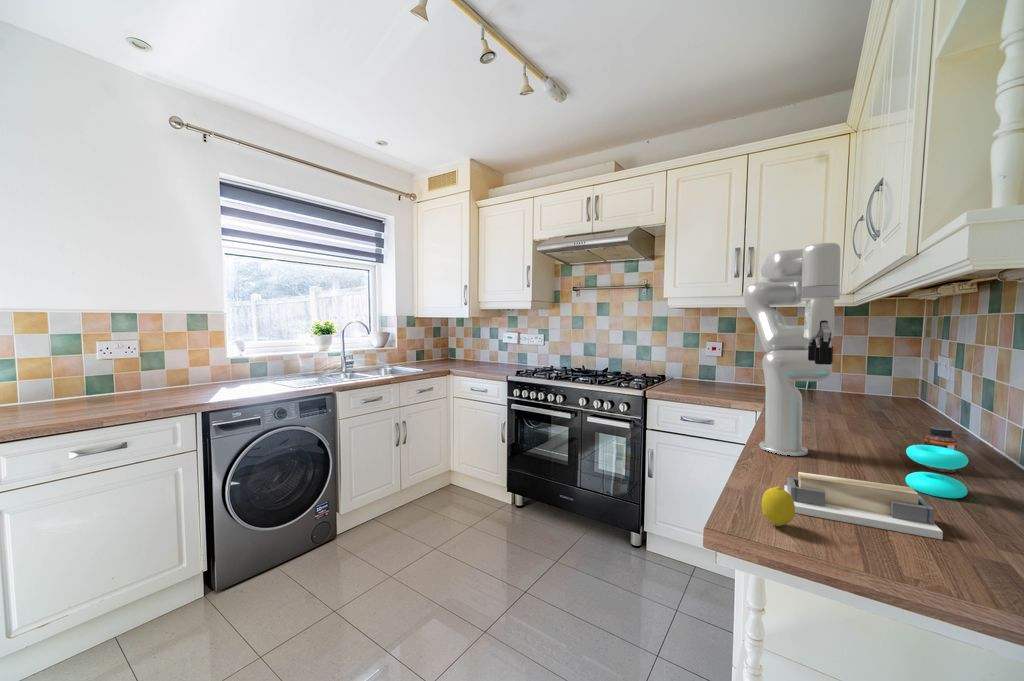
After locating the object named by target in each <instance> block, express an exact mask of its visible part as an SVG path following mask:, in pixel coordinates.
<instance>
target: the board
mask: <svg viewBox="0 0 1024 681" xmlns="http://www.w3.org/2000/svg"><path fill="white" fill-rule="evenodd" d="M783 490H785V491H786V492H788V490H787V484H784V489H783ZM793 502H794V505H795V514H797V515H804V516H808V517H809V516H810V517H815V518H820V519H821V518H822V519H827V520H831V521H838V522H843V523H848V524H853V525H859V526H866V527H869V528H874V529H875V528H876V529H881V530H886V531H893V532H897V533H904V534H909V535H915V536H919V537H920V536H921V537H924V538H925V537H927V538H931V539H936V540H943V539H944V538H943V534H944V532H943V530H942V529H941V528H939V527H938V525H937V524H935V522H934V525H932V524H926V523H920V522H914V521H908V520H902V519H896V518H892V517H891V515H890V514H884V513H878V512H872V511H866V510H860V509H854V508H848V507H842V506H836V505H830V504H825V506H819V505H813V504H807V503H801V502H795V501H793Z"/></svg>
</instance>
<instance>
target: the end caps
mask: <svg viewBox="0 0 1024 681" xmlns="http://www.w3.org/2000/svg"><path fill="white" fill-rule="evenodd" d="M786 477H787V484H786V485H787V490H788V493H789V494H790V495H791V497H792V499H793V501H795V502H801V503H807V504H813V505H819V506H825V491H822V490H816V489H809V488H803V487H798V477H791V476H786ZM891 517H892V518H896V519H902V520H908V521H914V522H920V523H926V524H932V525H934V523H935V508H933V507H932V506H931V505H930V504H929V503H928V502H927V501H926V500H925V499H924V498H923V497H922V496H921V495H918V505H914V504H907V503H901V502H894V501H891Z"/></svg>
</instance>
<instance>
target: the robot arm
mask: <svg viewBox="0 0 1024 681" xmlns="http://www.w3.org/2000/svg"><path fill="white" fill-rule="evenodd" d="M760 273H761V276H762V278H763V279H764V280H766V281H760V282H759V281H758V282H754V283H752V284H750V285H748V286H746V288H745V290H744V294H743V299H744V305H745V309H746V311H747V314H748V315H749V317H750V318H751V319H752V321H753V322H754V324H755V326H756V329H757V333H758V337H759V340H760V343H761V346H762V348H763V350H764V351H765V352H766V354H764V356H763V357H762V362H761V363H762V370H763V377H764V385H765V386H764V387H765V398H764V399H765V408H764V409H765V415H764V416H765V421H764V422H765V424H764V425H765V428H764V430H765V431H764V432H765V433H764V440H763V441H760V442H759V449H761V450H763V451H765V450H766V451H765V452H768V451H769V453H771V452H772V454H775V453H777V454H776V455H780V454H781V455H780V456H787V455H790V456H791V457H804V456H806V455H807V454H809V450H808V448H807V447H806V446H803V445H802V442H803V441H802V440H803V439H802V438H803V436H802V435H803V434H802V432H803V429H802V428H803V395H802V393H801V391H800V390H799V389H798V388H797V387H796V386H795V385H794V383H793V382H824V381H827V380H828V379H829V378H830V377H831V376H832V373H833V347H832V346H833V345H832V344H833V343H832V339H833V338H834V337H835V314H836V313H835V300H840V299H841V298H840V295H841V246H840V245H839V244H838V243H836V242H821V243H815V244H810V245H807V246H805V247H804V248H799V249H788V250H787V249H785V250H778V251H777V250H776V251H774V252H771V253H769V254H768V255H767V256H766V258H765V261H764V263H763V264H762V266H761V269H760ZM802 302H805V307H804V319H803V321H804V324H803V325H789V324H787V322H786V319H785V316H784V315H783V314H782V313H781V312H779V311H778V310H777V309H776V308H773V307H772V306H794V305H796V306H797V305H799V304H801V303H802ZM790 456H789V457H790Z"/></svg>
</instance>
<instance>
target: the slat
mask: <svg viewBox="0 0 1024 681" xmlns="http://www.w3.org/2000/svg"><path fill="white" fill-rule="evenodd" d="M797 478H798V487H803V488H809V489H816V490H822V491H825V504H830V505H836V506H842V507H848V508H854V509H860V510H866V511H872V512H878V513H884V514H890V515H891V501H894V502H901V503H907V504H914V505H918V496H919V492H918V491H917V490H914V489H913V488H911V487H910V486H905V485H904V486H903V485H897V484H888V483H880V482H873V481H868V480H860V479H852V478H847V477H846V478H844V477H840V476H839V477H838V476H831V475H823V474H815V473H808V472H802V471H798V474H797Z"/></svg>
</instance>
